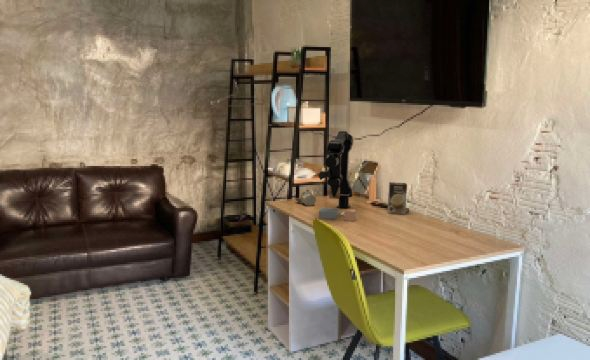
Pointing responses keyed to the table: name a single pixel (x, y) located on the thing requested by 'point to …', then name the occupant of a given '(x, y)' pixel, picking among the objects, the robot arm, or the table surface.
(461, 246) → the table surface
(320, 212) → the grey block
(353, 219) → the terracotta cube
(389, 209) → the coffee box
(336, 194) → the walnut cube
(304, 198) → the ceramic sculpture
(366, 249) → the table surface
